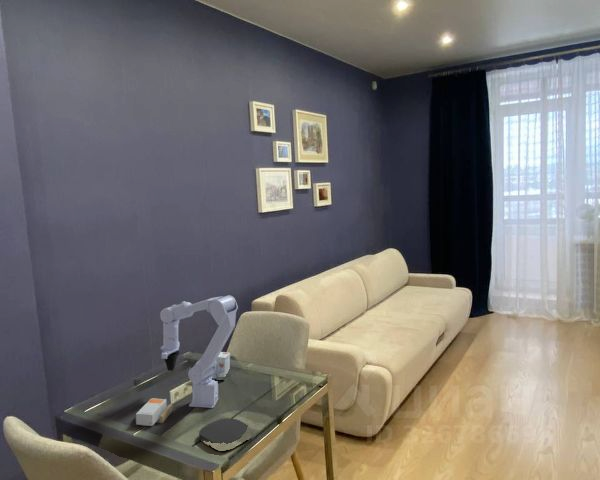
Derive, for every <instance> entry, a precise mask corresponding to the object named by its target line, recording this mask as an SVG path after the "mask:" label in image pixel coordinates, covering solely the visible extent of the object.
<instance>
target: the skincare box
mask: <svg viewBox="0 0 600 480" xmlns="http://www.w3.org/2000/svg"><path fill="white" fill-rule="evenodd" d="M167 406H168V405H167V398H156V397H155V398H153V397H152V398H150V399H149V400H148V401H147V402H146V403H144V405H143V406H142V407H141V408H140V409H139V410H138V411H137V412H136V414H135V425H138V426H139V425H140V426H144V427H145V426H147V427H148V426H149V427H152V426H154V425H155V424H156V423H155V422H156V421H157V420H158V419H159V418H160V417H159V416H160V415H161V414H162V412H163V411H164V410H165V409H166V407H167Z"/></svg>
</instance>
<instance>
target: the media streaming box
mask: <svg viewBox="0 0 600 480" xmlns="http://www.w3.org/2000/svg"><path fill="white" fill-rule="evenodd" d="M248 426H249V425H248V424H247V423H246V422H244V421H241V420H239V419H237V418H231V417H230V418H229V417H227V418H226V417H225V418H219V419H217V420H213V421H212V422H211V423H207V424H206V425H205V426H203V427H202V428H201V429H200V430H199V431H198V439H199V441H200V440H202V441H205V442H209V441H210V442H211V443H220V444H221V443H223V442H224V443H226V444H228V443H232V442H234V441H236V440H238V439H240V438H241V437H242V435H243V434H244V433H245V432H246V430H247V427H248ZM202 441H201V442H202Z"/></svg>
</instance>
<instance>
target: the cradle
mask: <svg viewBox="0 0 600 480" xmlns="http://www.w3.org/2000/svg"><path fill="white" fill-rule="evenodd" d="M166 406H167V407H166V409H165V410H164V411H163V412H162V414H161V415H160V416H159V417H160V418H159V419H158V420H157V421H156V422H155V424H156V423H157V424H163V423H164V422H165V421H166V420H167V418H168V417H169V416H170V415H171V413H172V412H173V404H167V405H166Z"/></svg>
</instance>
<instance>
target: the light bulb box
mask: <svg viewBox="0 0 600 480" xmlns="http://www.w3.org/2000/svg"><path fill="white" fill-rule="evenodd" d="M216 362H217V364H216V367H215V373H214V374H213V375H212V378H216V377H225V376H226V374H227V373H228V371H229V369H231V367H230V365H231V364H230V363H231V353H230V352H227V351H226V352H225V351H221V352H220V354H219V356H218V357H217V359H216Z"/></svg>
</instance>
